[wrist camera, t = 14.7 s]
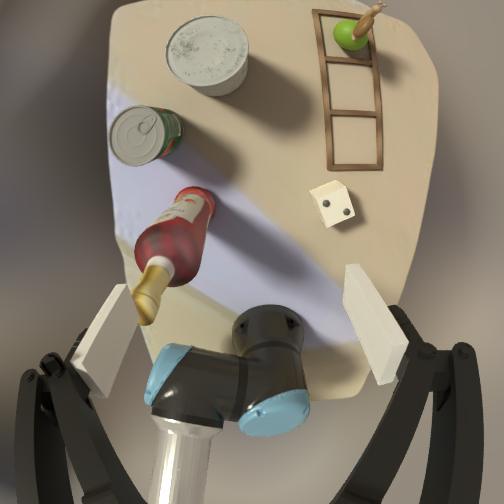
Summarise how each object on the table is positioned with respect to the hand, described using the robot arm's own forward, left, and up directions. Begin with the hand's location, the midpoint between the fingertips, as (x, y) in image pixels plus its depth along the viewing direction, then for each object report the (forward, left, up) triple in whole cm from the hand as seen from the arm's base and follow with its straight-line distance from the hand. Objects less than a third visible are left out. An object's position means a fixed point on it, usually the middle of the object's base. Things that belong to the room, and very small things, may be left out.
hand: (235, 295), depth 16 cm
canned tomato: (+10, +12, -31) cm, 35 cm away
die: (-4, -14, -31) cm, 34 cm away
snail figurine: (+24, -19, -31) cm, 44 cm away
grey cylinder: (+19, +2, -31) cm, 36 cm away
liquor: (-3, +8, -31) cm, 32 cm away
